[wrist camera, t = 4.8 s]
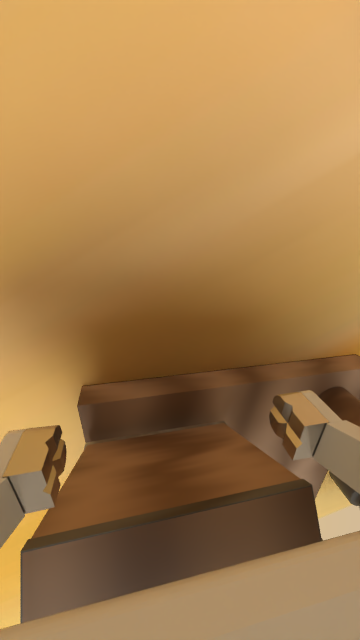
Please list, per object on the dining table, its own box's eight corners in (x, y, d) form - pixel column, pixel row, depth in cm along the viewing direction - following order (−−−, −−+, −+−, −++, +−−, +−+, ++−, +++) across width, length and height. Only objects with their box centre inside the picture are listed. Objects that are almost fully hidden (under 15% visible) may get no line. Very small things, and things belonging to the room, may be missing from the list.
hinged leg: (219, 417, 20) (315, 484, 9) (223, 444, 19) (326, 545, 9) (88, 437, 18) (15, 552, 7) (89, 467, 18) (14, 634, 7)
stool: (356, 354, 23) (604, 516, 11) (296, 501, 34) (389, 664, 22) (82, 386, 18) (-2, 727, 6) (115, 545, 29) (107, 781, 17)
